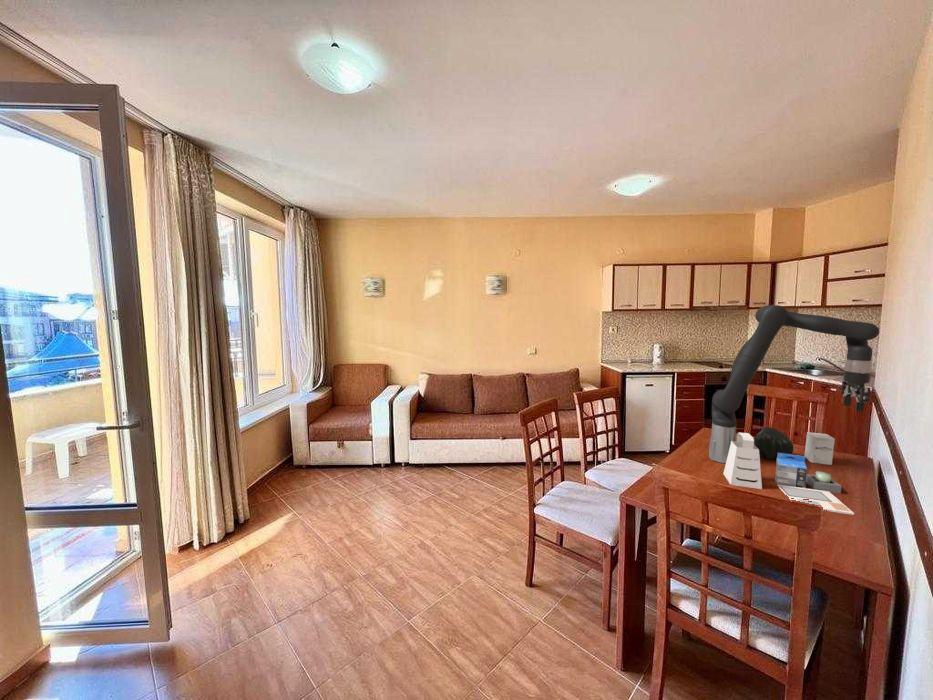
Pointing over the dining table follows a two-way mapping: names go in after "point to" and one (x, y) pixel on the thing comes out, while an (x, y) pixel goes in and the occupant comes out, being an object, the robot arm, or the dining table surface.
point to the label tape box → (791, 470)
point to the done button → (822, 477)
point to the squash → (772, 443)
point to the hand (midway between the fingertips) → (852, 408)
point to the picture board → (816, 498)
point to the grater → (743, 462)
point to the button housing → (823, 484)
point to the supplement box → (819, 448)
